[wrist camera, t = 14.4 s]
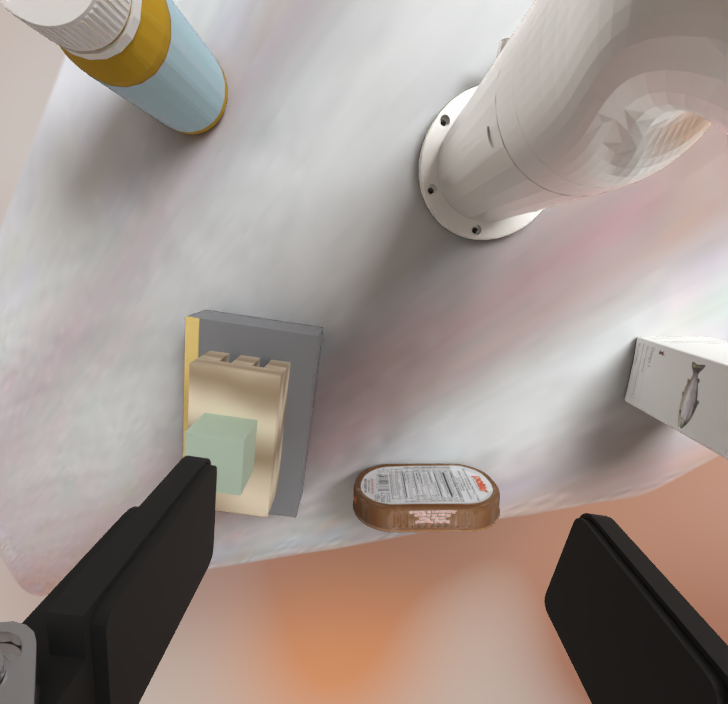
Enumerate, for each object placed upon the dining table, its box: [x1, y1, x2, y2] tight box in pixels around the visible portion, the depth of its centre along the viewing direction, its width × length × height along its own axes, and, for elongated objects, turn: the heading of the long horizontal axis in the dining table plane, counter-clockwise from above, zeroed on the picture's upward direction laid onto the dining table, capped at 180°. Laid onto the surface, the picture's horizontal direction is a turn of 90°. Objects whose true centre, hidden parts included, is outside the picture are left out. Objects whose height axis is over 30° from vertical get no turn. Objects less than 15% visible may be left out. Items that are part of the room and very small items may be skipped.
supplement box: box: [625, 336, 728, 459], centre depth 31 cm, size 7×7×13 cm
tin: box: [353, 464, 500, 532], centre depth 37 cm, size 15×3×8 cm, turn 91°
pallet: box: [188, 351, 291, 517], centre depth 33 cm, size 14×8×4 cm, turn 171°
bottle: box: [0, 0, 227, 134], centre depth 24 cm, size 7×7×15 cm
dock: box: [183, 310, 323, 517], centre depth 37 cm, size 20×12×4 cm, turn 171°
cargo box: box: [185, 413, 257, 495], centre depth 29 cm, size 5×4×3 cm
